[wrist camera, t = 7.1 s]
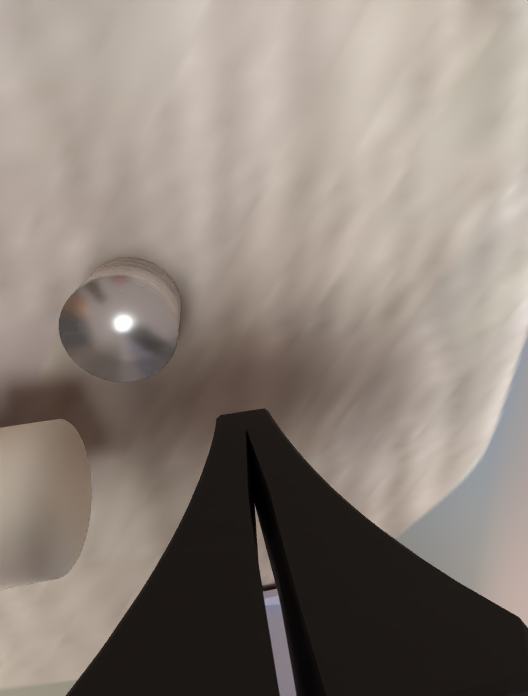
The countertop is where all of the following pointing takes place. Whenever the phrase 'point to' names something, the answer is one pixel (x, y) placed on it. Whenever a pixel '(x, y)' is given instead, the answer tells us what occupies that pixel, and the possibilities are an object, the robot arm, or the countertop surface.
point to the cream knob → (42, 501)
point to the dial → (122, 321)
